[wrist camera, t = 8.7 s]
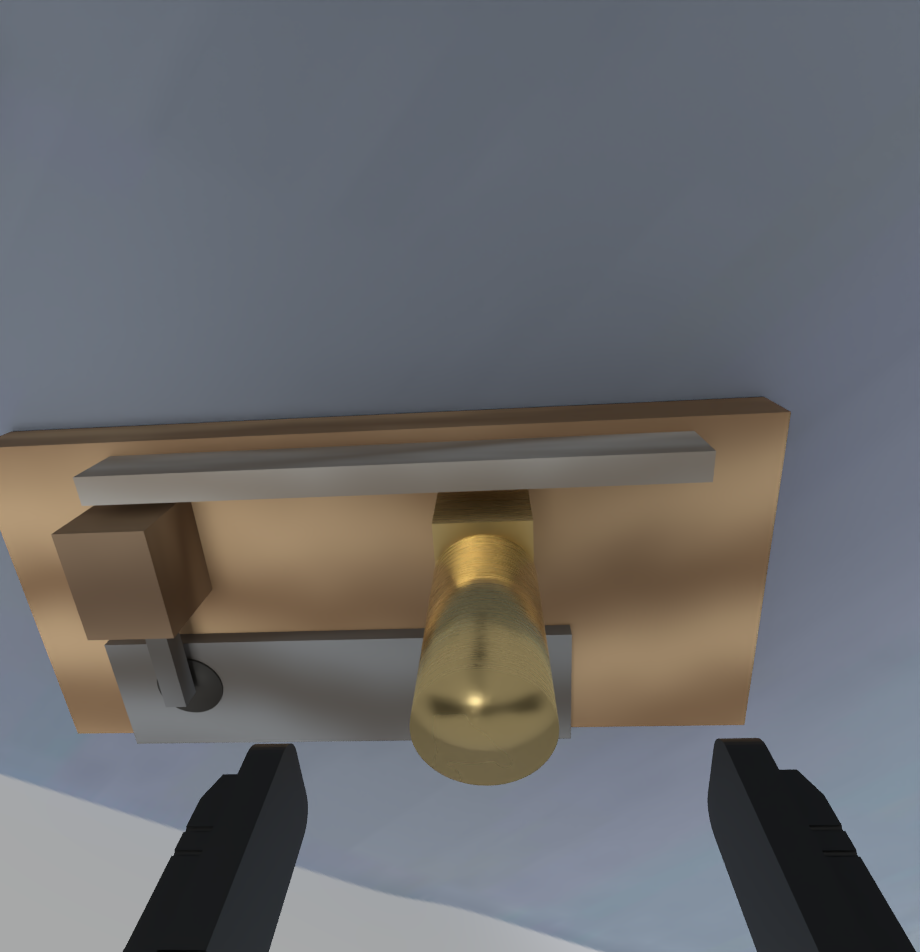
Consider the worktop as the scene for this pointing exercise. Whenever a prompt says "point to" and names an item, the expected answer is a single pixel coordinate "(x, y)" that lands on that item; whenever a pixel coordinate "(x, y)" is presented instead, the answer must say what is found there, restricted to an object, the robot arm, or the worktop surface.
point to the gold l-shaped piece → (484, 645)
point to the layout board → (415, 560)
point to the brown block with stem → (138, 581)
